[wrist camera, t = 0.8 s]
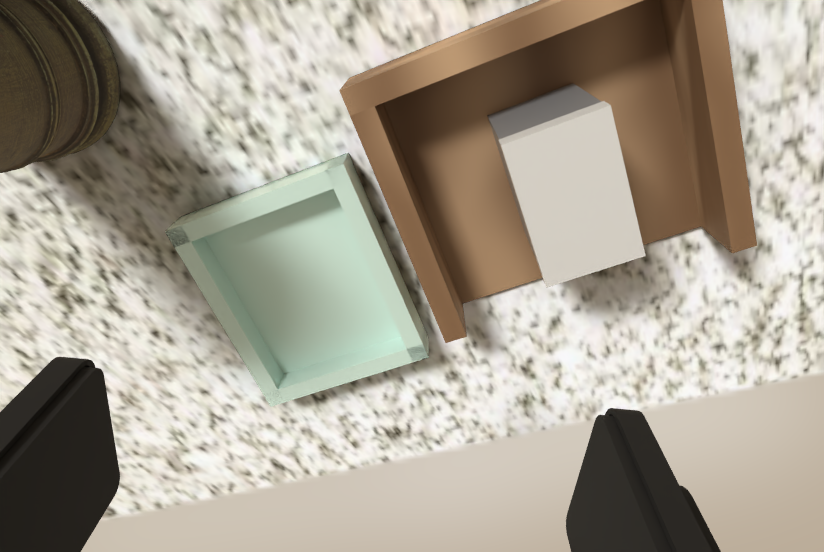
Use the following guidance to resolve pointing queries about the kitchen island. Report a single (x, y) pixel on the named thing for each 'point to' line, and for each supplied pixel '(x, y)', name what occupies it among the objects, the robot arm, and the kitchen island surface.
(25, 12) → the container
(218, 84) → the kitchen island surface
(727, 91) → the bay
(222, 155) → the kitchen island surface
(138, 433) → the kitchen island surface
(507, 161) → the off-white upright block
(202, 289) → the tray
